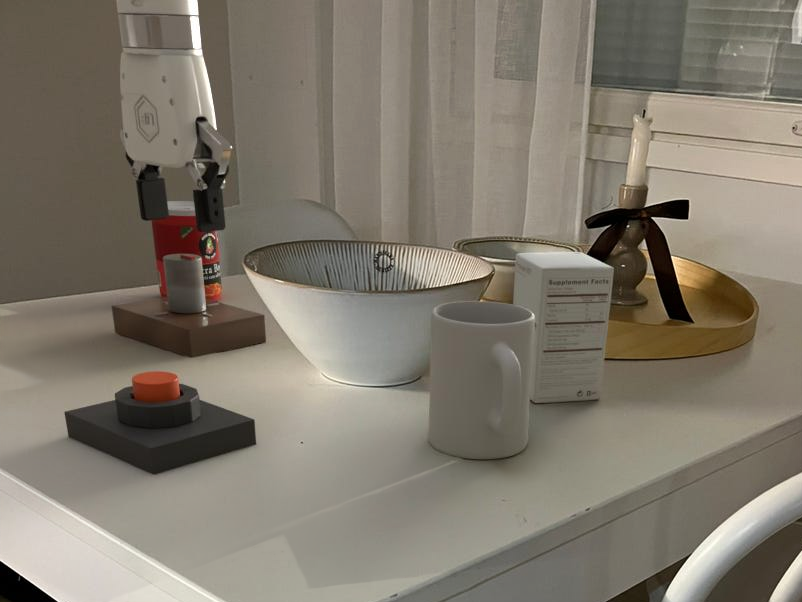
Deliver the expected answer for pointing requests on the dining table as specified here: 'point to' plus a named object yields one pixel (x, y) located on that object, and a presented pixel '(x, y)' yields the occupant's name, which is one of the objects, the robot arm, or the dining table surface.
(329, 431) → the dining table surface
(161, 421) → the button base
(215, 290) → the canned food
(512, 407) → the mug
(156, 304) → the dial panel
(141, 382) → the button
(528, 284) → the white packaging box
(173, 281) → the dial
